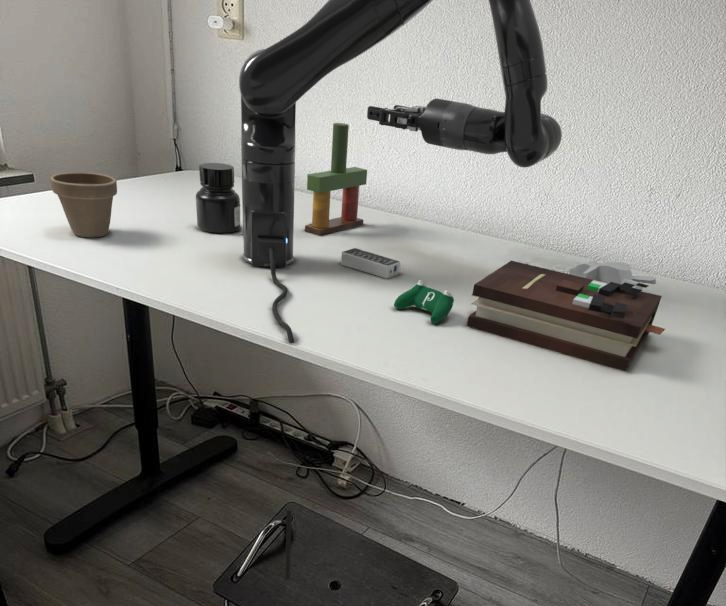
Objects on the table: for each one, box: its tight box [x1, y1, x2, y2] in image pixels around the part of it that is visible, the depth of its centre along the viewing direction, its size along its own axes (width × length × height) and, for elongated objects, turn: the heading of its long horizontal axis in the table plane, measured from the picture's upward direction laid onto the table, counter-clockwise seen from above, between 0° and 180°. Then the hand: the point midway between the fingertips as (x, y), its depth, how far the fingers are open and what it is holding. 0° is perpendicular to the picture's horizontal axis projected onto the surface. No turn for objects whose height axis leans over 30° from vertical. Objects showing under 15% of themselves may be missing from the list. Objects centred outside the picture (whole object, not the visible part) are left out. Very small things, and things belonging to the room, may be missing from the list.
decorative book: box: [466, 260, 666, 372], centre depth 105 cm, size 19×8×30 cm
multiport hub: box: [340, 247, 401, 279], centre depth 124 cm, size 4×11×2 cm, turn 53°
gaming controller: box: [393, 279, 455, 325], centre depth 107 cm, size 9×4×6 cm
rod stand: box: [304, 186, 364, 237], centre depth 144 cm, size 15×4×8 cm, turn 143°
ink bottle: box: [195, 162, 242, 234], centre depth 136 cm, size 10×9×12 cm
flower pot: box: [50, 172, 118, 238], centre depth 126 cm, size 12×11×10 cm
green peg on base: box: [306, 122, 368, 193], centre depth 139 cm, size 16×4×12 cm, turn 143°
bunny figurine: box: [569, 260, 657, 291], centre depth 125 cm, size 10×5×15 cm
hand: (381, 111), depth 128 cm, fingers open, 8 cm apart
